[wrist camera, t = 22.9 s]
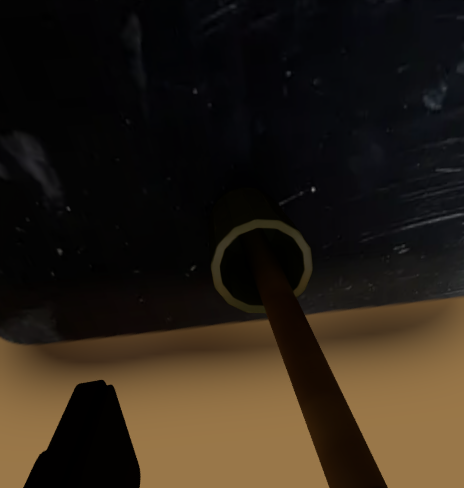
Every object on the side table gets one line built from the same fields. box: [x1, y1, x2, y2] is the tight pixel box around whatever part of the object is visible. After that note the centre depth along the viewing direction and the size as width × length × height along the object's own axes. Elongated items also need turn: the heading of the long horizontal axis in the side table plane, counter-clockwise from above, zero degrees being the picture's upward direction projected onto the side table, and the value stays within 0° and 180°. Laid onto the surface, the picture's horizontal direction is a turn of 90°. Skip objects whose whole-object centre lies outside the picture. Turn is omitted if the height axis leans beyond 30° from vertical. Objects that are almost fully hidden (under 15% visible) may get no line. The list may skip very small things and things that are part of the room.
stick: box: [238, 228, 388, 488], centre depth 16 cm, size 1×1×16 cm
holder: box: [208, 187, 313, 313], centre depth 20 cm, size 4×4×7 cm
